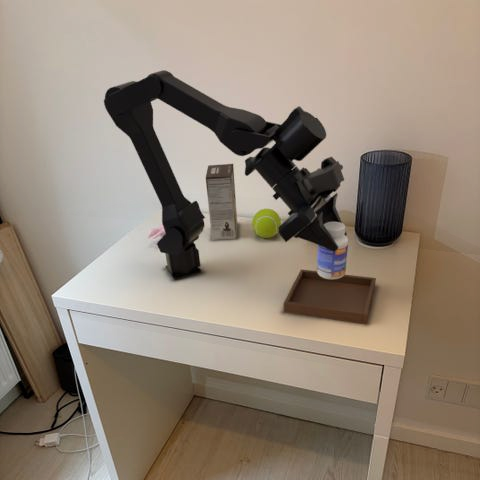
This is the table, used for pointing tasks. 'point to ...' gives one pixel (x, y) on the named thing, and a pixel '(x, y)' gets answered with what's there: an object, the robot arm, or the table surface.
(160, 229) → the rabbit figure
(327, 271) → the pill bottle
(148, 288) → the table surface
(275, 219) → the tennis ball
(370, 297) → the tray
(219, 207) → the coffee box
